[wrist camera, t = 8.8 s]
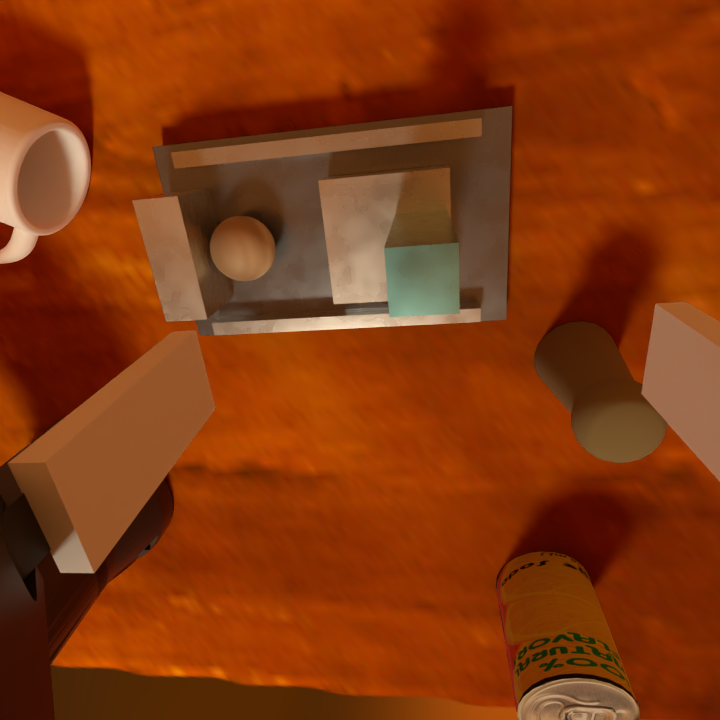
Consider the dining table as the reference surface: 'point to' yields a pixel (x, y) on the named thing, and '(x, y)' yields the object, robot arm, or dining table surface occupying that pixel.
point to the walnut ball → (242, 248)
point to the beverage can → (560, 643)
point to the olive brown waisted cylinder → (598, 392)
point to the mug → (38, 174)
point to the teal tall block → (392, 240)
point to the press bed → (320, 219)
